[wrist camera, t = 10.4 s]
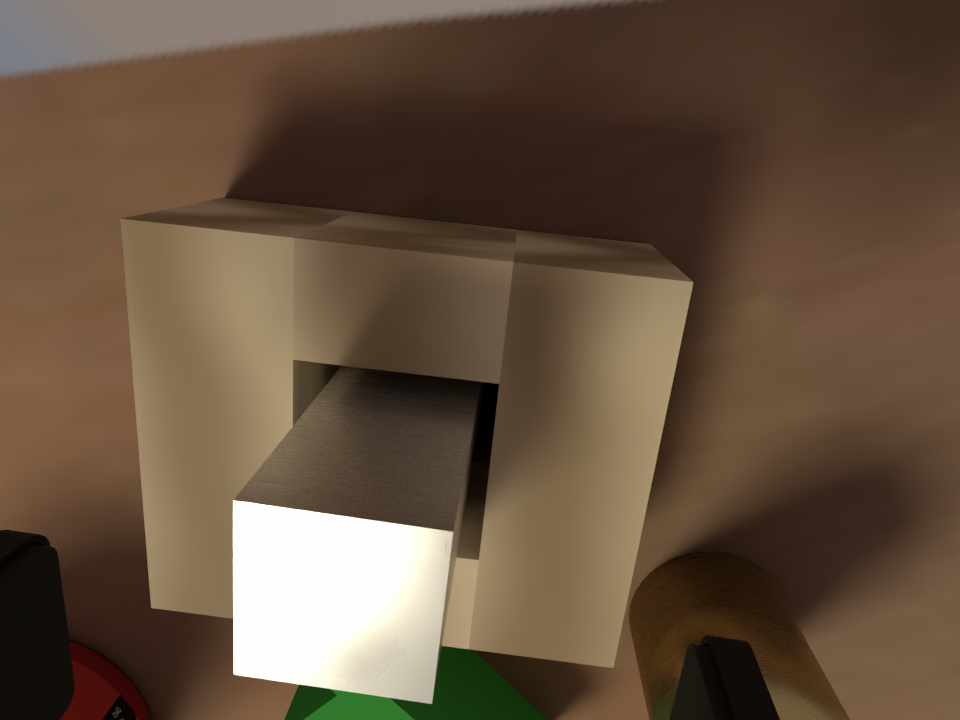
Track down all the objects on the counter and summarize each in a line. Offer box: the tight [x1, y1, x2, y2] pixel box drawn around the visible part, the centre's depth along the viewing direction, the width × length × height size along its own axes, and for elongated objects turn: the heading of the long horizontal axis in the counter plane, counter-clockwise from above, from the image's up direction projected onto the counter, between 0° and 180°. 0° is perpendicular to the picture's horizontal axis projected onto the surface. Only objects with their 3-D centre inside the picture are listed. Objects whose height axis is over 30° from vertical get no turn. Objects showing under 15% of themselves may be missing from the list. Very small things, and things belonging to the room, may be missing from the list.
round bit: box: [629, 552, 850, 720], centre depth 18 cm, size 5×5×8 cm
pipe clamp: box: [285, 646, 548, 720], centre depth 21 cm, size 11×4×5 cm, turn 42°
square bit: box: [233, 366, 484, 704], centre depth 15 cm, size 3×3×10 cm
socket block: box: [121, 198, 693, 668], centre depth 18 cm, size 12×10×5 cm
